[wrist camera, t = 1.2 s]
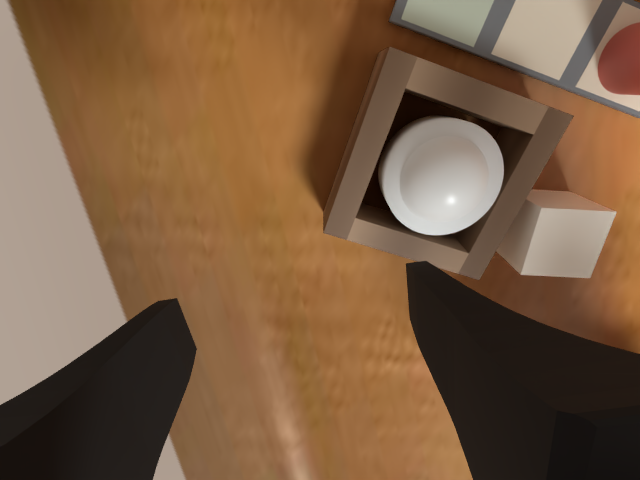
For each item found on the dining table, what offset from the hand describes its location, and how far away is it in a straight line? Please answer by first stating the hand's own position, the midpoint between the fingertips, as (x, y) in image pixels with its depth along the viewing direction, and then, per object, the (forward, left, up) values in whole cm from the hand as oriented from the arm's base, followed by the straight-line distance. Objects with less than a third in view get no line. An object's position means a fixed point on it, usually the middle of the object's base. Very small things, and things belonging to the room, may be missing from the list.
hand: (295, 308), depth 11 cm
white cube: (-12, -3, -10) cm, 16 cm away
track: (-8, -12, -10) cm, 17 cm away
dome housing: (-5, -4, -10) cm, 12 cm away
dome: (-5, -4, -9) cm, 11 cm away
